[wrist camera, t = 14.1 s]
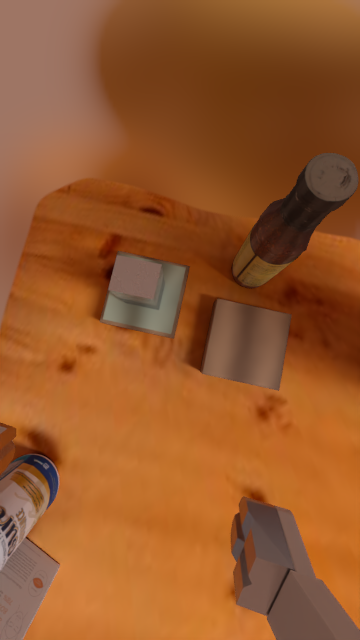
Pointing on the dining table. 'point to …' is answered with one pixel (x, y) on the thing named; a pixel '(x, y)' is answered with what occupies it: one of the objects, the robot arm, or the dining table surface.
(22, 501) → the beverage bottle
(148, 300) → the housing
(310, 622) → the robot arm
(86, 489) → the dining table surface
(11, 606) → the small box
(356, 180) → the sauce bottle
